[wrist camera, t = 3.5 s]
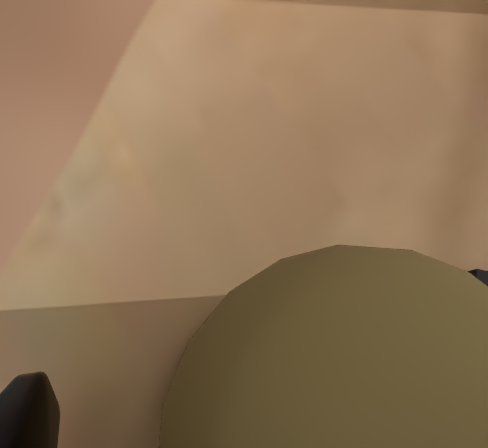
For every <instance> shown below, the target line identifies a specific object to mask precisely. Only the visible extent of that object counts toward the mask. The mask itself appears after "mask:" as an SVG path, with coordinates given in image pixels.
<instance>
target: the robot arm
mask: <svg viewBox="0 0 488 448" xmlns="http://www.w3.org/2000/svg"><path fill="white" fill-rule="evenodd" d="M59 423H60V409H59V404H58V401H57V399H56V396H55V394H54V391H53V389H52V386H51V384H50V381H49V379H48V376H47V375H46V374H45V373H44V372H35V373H28V374H22V375H19V376H17V377H16V378H14V379H13V380H12V382H11V383H10V384H9V385H8V386H7V387H6V388H5V389H4V390H3V392H2V393H1V394H0V448H57V445H58V434H59Z"/></svg>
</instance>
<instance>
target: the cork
mask: <svg viewBox="0 0 488 448" xmlns="http://www.w3.org/2000/svg"><path fill="white" fill-rule="evenodd" d="M159 448H488V286H486V285H485V284H484V283H482V282H481V281H480V280H478V279H477V278H476V277H475V276H473V275H472V274H471V273H469V272H466V271H464V270H461V269H459V268H456V267H454V266H451V265H449V264H446V263H443V262H441V261H438V260H436V259H433V258H431V257H428V256H425V255H423V254H420V253H418V252H415V251H413V250H404V249H390V248H376V247H361V246H347V245H335V246H331V247H327V248H323V249H319V250H315V251H311V252H307V253H303V254H299V255H295V256H291V257H287V258H283V259H280V260H279V261H277V262H276V263H274V264H272V265H271V266H269V267H268V268H266V269H265V270H263V271H261V272H260V273H258V274H257V275H255V276H254V277H252V278H250V279H249V280H247V281H246V282H244V283H243V284H241V285H239V286H238V287H236V288H235V289H233V290H232V291H230V292H229V293H228V294H227V296H226V297H225V298H224V299H223V300H222V302H221V303H220V304H219V305H218V307H217V308H216V309H215V310H214V311H213V313H212V314H211V315H210V316H209V317H208V319H207V320H206V321H205V322H204V324H203V325H202V326H201V327H200V328H199V330H198V331H197V332H196V333H195V334H194V336H193V337H192V338H191V339H190V340H189V342H188V344H187V347H186V349H185V352H184V354H183V357H182V359H181V362H180V364H179V367H178V369H177V371H176V374H175V376H174V379H173V381H172V384H171V386H170V389H169V391H168V394H167V396H166V398H165V401H164V403H163V407H162V418H161V428H160V439H159Z"/></svg>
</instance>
